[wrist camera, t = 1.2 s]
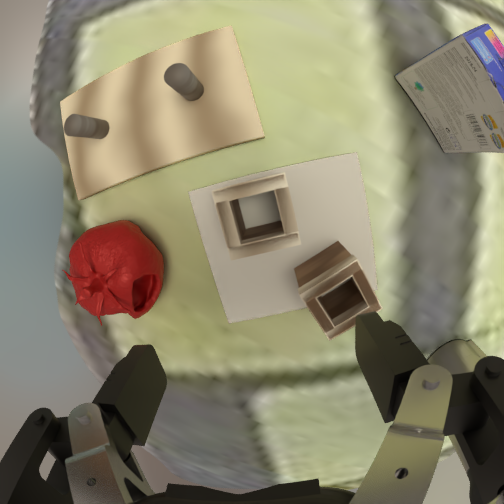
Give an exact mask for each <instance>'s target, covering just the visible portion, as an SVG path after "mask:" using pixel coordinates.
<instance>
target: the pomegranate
mask: <svg viewBox="0 0 504 504" xmlns="http://www.w3.org/2000/svg"><path fill="white" fill-rule="evenodd" d="M69 258H70V264H71V266H70V274H71V276H70V275H69V274H68V273H67V272H65V271H64V270H63V271H64V272H65V273H66V275H67V277H68V279H69V280H71V281H72V284H73V287H74V289H75V292H76V297H77V301H76V304H77V303H79V304H80V305H81V306H82V307H83V308H84V309H86V310H87V311H89V312H90V313H91V314H92V315H94V316H97V317H98V319H99V321H100V323H101V319H100V315H101V316H104V315H106V314H107V315H113V314H116V313H128V314H129V315H130V316H132V317H133V318H135V319H136V318H139V317H141V316H142V315H144V314H145V313H147V312H148V311H149V310H150V309H151V308H152V307H153V305H154V304H155V302H156V300H157V298H158V296H159V294H160V291H161V288H162V285H163V273H164V263H163V257H162V254H161V252H160V251H159V250H158V249H157V247H156V246H155V245H154V244H153V242H152V241H151V240H149V239H148V238H147V237H145V235H144V234H143V233H142V232H141V230H140V228H139V227H138V226H137V225H135V224H133V223H132V222H130V221H127V220H120V221H116V222H112V223H108V224H105V225H100V226H96V227H93V228H91V229H89V230H87V231H86V232H84V233H83V234H82V235H81V236H80V238H79V239H78V240H77V241H76V242H75V243H74V245H73V246H72V248H71V251H70V254H69ZM76 304H75V305H76ZM101 326H102V323H101Z"/></svg>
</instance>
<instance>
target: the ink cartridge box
mask: <svg viewBox="0 0 504 504" xmlns="http://www.w3.org/2000/svg"><path fill="white" fill-rule="evenodd" d="M395 78H396V79H397V81H398V82H399V83H400V84H401V86H402V87H403V88H404V90H405V91H406V92H407V94H408V95H409V97H410V98H411V99H412V101H413V102H414V104H415V105H416V107H417V108H418V110H419V111H420V113H421V114H422V116H423V117H424V119H425V120H426V122H427V124H428V125H429V127H430V128H431V130H432V132H433V133H434V135H435V137H436V138H437V140H438V142H439V143H440V145H441V147H442V149H443V151H444V152H445V153H464V152H497V153H504V46H503V45H502V43H501V42H500V40H499V39H498V37H497V36H496V34H495V33H494V31H493V30H492V29H491V27H490V26H489V24H483V25H481V26H478V27H476V28H474V29H471V30H469V31H467V32H465V33H463V34H461V35H459V36H458V37H456V38H454V39H452V40H451V41H449V42H447V43H446V44H444V45H442V46H441V47H439V48H437V49H436V50H434V51H433V52H431V53H429V54H428V55H426V56H425V57H423V58H422V59H420V60H419V61H417V62H416V63H414V64H413V65H411V66H409V67H408V68H406V69H404V70H403V71H401V72H399V73H398V74H396V75H395Z"/></svg>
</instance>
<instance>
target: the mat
mask: <svg viewBox="0 0 504 504" xmlns="http://www.w3.org/2000/svg"><path fill="white" fill-rule="evenodd" d="M283 172H285V175H286V179H287V183H288V188H289V192H290V196H291V200H292V204H293V209H294V213H295V218H296V222H297V227H298V231H299V236H300V240H301V245H297V246H293V247H288V248H284V249H280V250H275V251H271V252H267V253H262V254H258V255H254V256H249V257H245V258H240V259H236V260H232V261H231V259H230V256H229V252H228V249H227V245H226V242H225V238H224V235H223V231H222V227H221V224H220V220H219V217H218V213H217V210H216V206H215V202H214V199H213V195H212V191H213V190H216V189H219V188H223V187H227V186H230V185H234V184H238V183H242V182H246V181H250V180H254V179H258V178H262V177H266V176H270V175H275V174H279V173H283ZM188 193H189V197H190V200H191V204H192V207H193V211H194V214H195V218H196V221H197V225H198V228H199V231H200V235H201V238H202V241H203V245H204V248H205V251H206V254H207V258H208V261H209V264H210V267H211V271H212V274H213V277H214V280H215V283H216V286H217V289H218V292H219V295H220V299H221V302H222V305H223V308H224V311H225V314H226V317H227V320H228V322H229V323H234V322H240V321H245V320H250V319H256V318H261V317H266V316H271V315H275V314H280V313H285V312H290V311H294V310H299V309H303V308H307V306H306V305H305V303H304V302H303V300H302V299H301V297H300V296H299V293H298V288H299V286H298V282H297V278H296V274H295V271H294V268H295V267H297V266H299V265H300V264H302V263H304V262H305V261H307V260H308V259H310V258H312V257H313V256H315V255H316V254H318V253H320V252H321V251H323V250H324V249H326V248H327V247H329V246H331V245H332V244H334V243H335V242H337V241H339V242H340V243H341V244H342V245H343V246H344V247H345V248H346V249H347V251H348V252H349V253H350V254H351V255H352V254H353V255H354V256H355V257H356V258H357V259H358V261H359V263H360V265H361V267H362V269H363V270H364V272H365V274H366V276H367V278H368V280H369V282H370V284H371V286H372V288H373V290H374V291H375V290H378V289H377V276H376V265H375V256H374V247H373V239H372V231H371V224H370V218H369V211H368V205H367V199H366V194H365V188H364V183H363V178H362V173H361V168H360V164H359V159H358V155H357V152H356V153H350V154H344V155H339V156H333V157H328V158H323V159H318V160H313V161H308V162H303V163H298V164H294V165H289V166H285V167H280V168H276V169H272V170H267V171H263V172H259V173H255V174H251V175H247V176H243V177H239V178H235V179H232V180H228V181H224V182H221V183H217V184H213V185H210V186H206V187H203V188H199V189H196V190H193V191H189V192H188ZM238 201H239V205H240V209H241V212H242V216H243V220H244V224H245V228H246V229H247V228H251V227H255V226H259V225H264V224H268V223H272V222H276V221H281V217H280V213H279V209H278V205H277V200H276V196H275V192H274V190H272V191H268V192H263V193H259V194H255V195H251V196H247V197H243V198H239V199H238ZM349 280H350V278H349V279H347V280H345V281H344V282H342V283H341V284H339V285H337V286H336V287H334V288H333V289H331V290H329V291H328V292H326V293H324V294H323V295H321V296H322V297H323V296H324V295H326V294H328V293H329V292H331V291H333V290H334V289H336V288H337V287H339V286H341V285H342V284H344V283H345V282H347V281H349Z"/></svg>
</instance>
